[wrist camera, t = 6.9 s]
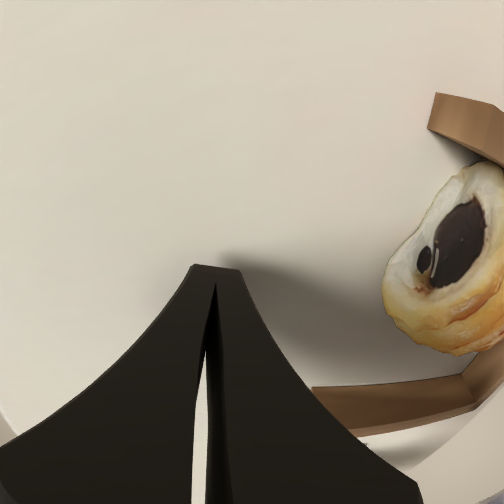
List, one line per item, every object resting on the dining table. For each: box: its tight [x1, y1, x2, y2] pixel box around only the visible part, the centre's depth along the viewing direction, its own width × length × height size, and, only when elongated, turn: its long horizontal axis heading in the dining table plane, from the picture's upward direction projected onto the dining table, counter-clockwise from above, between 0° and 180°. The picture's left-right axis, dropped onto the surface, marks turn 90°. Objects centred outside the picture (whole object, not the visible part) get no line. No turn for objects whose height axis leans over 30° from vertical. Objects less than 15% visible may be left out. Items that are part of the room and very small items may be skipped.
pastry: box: [382, 161, 504, 356], centre depth 9 cm, size 9×7×4 cm
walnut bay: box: [310, 92, 504, 438], centre depth 10 cm, size 14×12×2 cm
